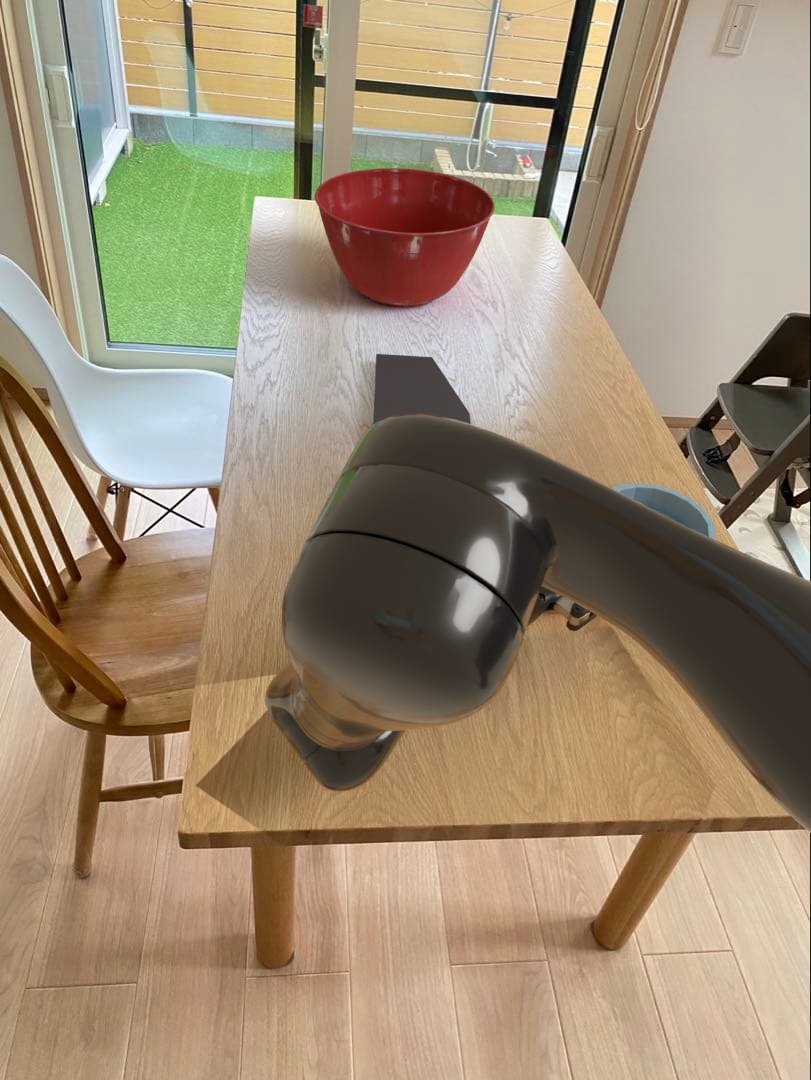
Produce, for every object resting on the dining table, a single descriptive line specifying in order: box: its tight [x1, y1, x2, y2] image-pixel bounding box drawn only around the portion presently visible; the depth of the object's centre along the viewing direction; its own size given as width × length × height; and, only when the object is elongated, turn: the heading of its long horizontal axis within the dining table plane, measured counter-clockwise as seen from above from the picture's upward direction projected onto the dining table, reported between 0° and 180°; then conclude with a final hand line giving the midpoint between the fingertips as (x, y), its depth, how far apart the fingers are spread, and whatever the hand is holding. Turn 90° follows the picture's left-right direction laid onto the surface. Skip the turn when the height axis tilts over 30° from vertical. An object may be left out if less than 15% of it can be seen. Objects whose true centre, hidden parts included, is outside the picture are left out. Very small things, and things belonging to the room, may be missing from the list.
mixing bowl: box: [314, 167, 496, 308], centre depth 128 cm, size 28×28×16 cm
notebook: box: [372, 353, 472, 426], centre depth 107 cm, size 13×2×21 cm
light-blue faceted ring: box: [611, 482, 717, 541], centre depth 85 cm, size 13×13×6 cm
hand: (583, 532), depth 77 cm, fingers open, 8 cm apart
